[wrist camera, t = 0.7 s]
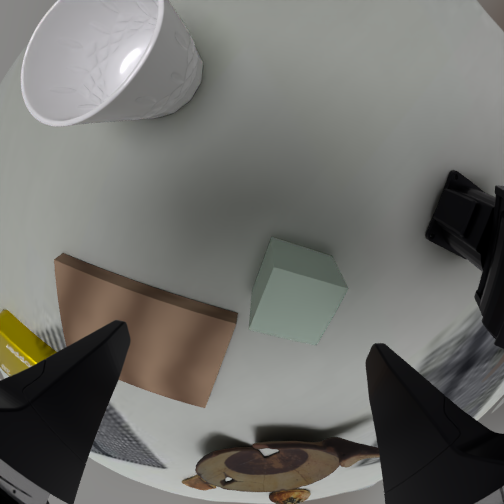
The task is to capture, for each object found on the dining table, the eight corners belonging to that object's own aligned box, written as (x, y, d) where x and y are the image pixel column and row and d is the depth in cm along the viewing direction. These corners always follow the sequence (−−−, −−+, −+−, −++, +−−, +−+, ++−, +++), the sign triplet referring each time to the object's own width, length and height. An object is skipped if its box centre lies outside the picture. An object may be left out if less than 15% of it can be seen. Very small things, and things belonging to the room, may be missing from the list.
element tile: (75, 362, 29) (60, 386, 25) (70, 400, 35) (60, 419, 30) (3, 302, 26) (-15, 320, 22) (10, 353, 32) (-3, 368, 27)
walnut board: (237, 313, 23) (236, 323, 22) (206, 398, 29) (205, 408, 27) (62, 253, 22) (54, 259, 20) (74, 348, 27) (68, 356, 26)
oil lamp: (169, 429, 33) (159, 469, 26) (375, 394, 28) (390, 442, 21) (229, 475, 42) (226, 504, 35) (376, 449, 36) (383, 482, 29)
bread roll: (259, 494, 48) (261, 509, 44) (289, 481, 46) (292, 497, 41) (289, 497, 51) (291, 510, 47) (318, 484, 49) (322, 498, 44)
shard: (199, 471, 43) (198, 478, 41) (230, 479, 44) (229, 486, 42) (181, 478, 46) (179, 484, 45) (208, 486, 48) (207, 491, 46)
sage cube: (331, 255, 21) (348, 288, 16) (307, 305, 23) (316, 345, 18) (271, 236, 20) (273, 266, 16) (252, 290, 22) (248, 329, 18)
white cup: (146, 147, 18) (57, 164, 9) (97, 78, 15) (7, 63, 6) (233, 80, 16) (203, 27, 7) (175, 13, 13) (117, -51, 4)
